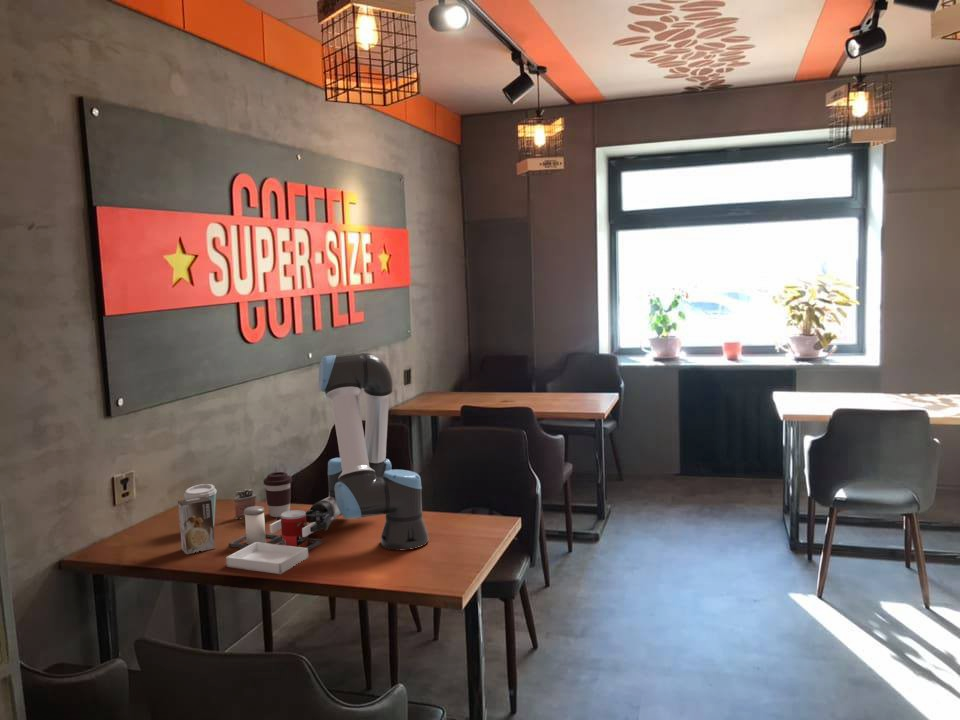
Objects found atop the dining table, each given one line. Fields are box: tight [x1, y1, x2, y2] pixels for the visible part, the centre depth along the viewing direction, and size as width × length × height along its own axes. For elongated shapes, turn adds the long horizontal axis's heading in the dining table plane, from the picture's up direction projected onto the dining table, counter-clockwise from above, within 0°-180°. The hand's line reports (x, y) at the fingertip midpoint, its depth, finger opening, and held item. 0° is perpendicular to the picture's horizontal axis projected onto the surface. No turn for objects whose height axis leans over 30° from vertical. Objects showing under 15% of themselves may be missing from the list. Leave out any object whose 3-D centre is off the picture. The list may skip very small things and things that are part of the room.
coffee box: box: [177, 496, 216, 555], centre depth 253 cm, size 9×6×16 cm
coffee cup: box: [263, 471, 293, 518], centre depth 288 cm, size 10×10×15 cm
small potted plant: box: [233, 488, 257, 519], centre depth 287 cm, size 8×3×10 cm, turn 130°
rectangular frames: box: [228, 532, 323, 552], centre depth 256 cm, size 27×12×1 cm, turn 68°
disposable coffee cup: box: [183, 483, 218, 527], centre depth 272 cm, size 11×11×15 cm
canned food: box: [280, 509, 308, 548], centre depth 253 cm, size 8×8×11 cm
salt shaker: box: [244, 505, 267, 545], centre depth 258 cm, size 6×6×11 cm
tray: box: [225, 542, 309, 575], centre depth 240 cm, size 19×14×3 cm
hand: (286, 530), depth 249 cm, fingers open, 11 cm apart
